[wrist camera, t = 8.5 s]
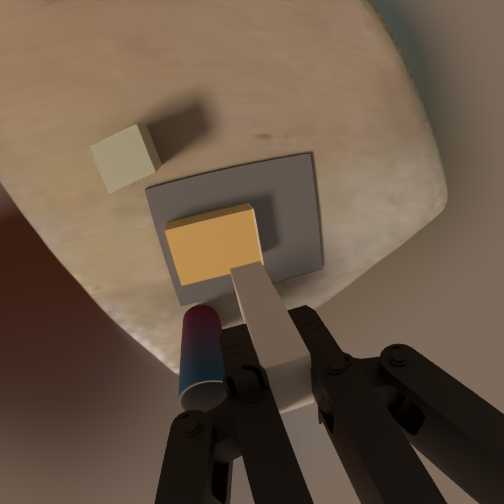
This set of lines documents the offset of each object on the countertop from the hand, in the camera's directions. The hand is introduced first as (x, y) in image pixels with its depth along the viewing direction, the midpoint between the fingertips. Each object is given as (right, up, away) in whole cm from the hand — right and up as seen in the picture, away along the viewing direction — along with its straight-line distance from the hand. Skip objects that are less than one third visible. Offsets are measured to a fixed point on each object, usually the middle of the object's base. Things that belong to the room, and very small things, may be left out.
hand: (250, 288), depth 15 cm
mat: (-1, +4, +23) cm, 23 cm away
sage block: (-13, +13, +16) cm, 25 cm away
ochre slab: (+1, +4, +21) cm, 21 cm away
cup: (-7, -8, +27) cm, 28 cm away
